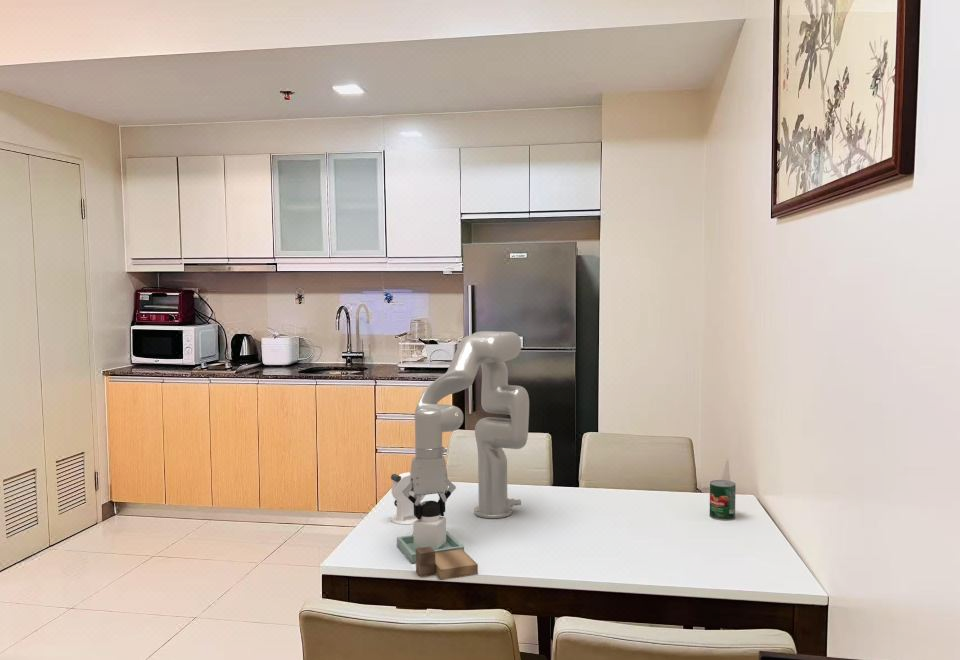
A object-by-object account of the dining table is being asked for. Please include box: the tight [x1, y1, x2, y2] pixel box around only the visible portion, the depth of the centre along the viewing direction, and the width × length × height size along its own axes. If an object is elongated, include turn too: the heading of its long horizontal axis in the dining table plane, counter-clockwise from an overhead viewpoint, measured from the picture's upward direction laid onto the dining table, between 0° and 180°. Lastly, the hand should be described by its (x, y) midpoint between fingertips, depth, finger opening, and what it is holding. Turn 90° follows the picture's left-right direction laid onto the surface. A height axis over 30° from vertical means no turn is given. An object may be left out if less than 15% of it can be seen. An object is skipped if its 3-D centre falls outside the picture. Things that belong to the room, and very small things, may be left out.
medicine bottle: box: [412, 500, 447, 550], centre depth 202 cm, size 7×7×12 cm
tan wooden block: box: [435, 549, 479, 580], centre depth 189 cm, size 10×12×3 cm
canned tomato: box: [708, 479, 737, 521], centre depth 230 cm, size 8×8×11 cm
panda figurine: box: [390, 471, 426, 526], centre depth 230 cm, size 12×11×15 cm
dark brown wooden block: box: [415, 547, 436, 578], centre depth 186 cm, size 4×4×6 cm
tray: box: [396, 530, 465, 565], centre depth 202 cm, size 15×15×2 cm
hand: (429, 515), depth 202 cm, fingers closed on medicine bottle, 6 cm apart
